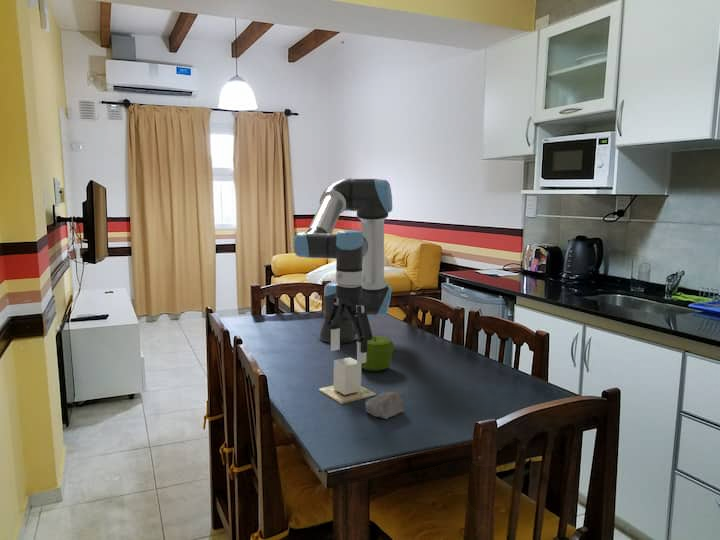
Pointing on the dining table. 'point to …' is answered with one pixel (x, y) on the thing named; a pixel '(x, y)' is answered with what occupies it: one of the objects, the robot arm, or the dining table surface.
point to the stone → (385, 405)
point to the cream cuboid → (347, 376)
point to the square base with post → (348, 397)
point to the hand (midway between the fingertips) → (347, 356)
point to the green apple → (378, 354)
